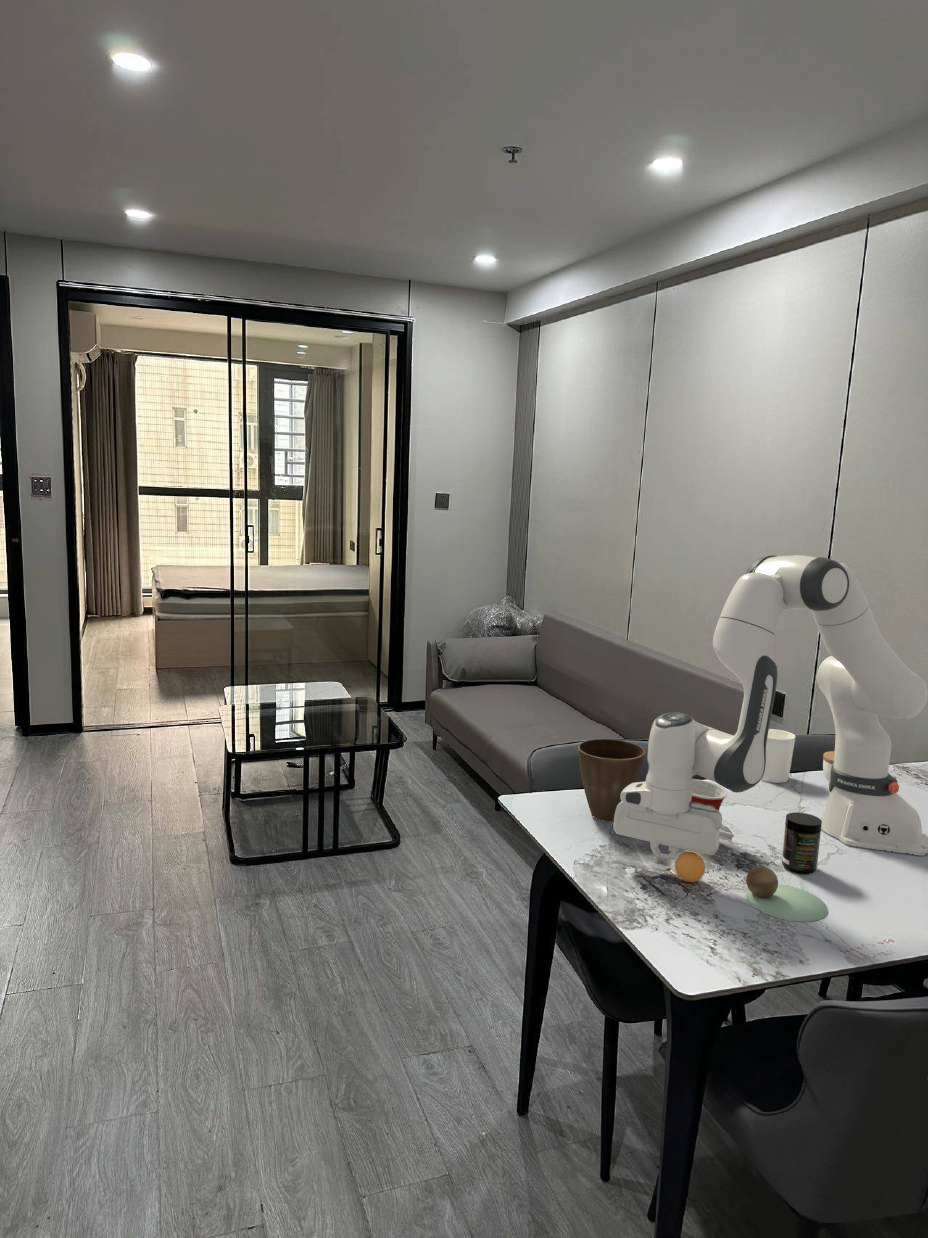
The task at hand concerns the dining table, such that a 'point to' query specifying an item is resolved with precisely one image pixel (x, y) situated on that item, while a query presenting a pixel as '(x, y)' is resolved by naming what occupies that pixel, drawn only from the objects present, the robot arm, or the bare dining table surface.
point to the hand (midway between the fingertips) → (663, 864)
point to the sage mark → (790, 904)
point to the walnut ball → (762, 881)
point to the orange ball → (690, 867)
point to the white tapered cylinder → (778, 756)
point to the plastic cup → (708, 793)
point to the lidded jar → (828, 763)
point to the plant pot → (608, 773)
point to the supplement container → (801, 843)
